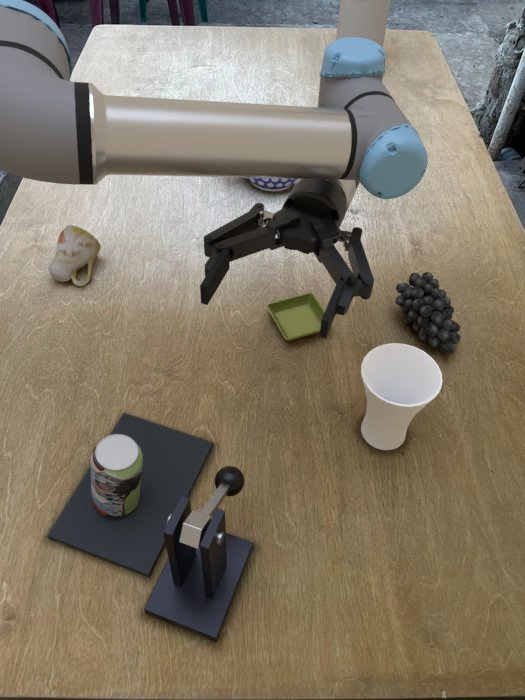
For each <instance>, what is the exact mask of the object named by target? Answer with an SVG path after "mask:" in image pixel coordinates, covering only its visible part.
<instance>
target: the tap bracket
mask: <svg viewBox="0 0 525 700" xmlns="http://www.w3.org/2000/svg"><path fill="white" fill-rule="evenodd" d="M191 511H192V505H191V498H190V497H188V498H187V497H185V496H182V495H181V497H180V499H179V501H178V503H177V505H176V507H175V509H174V511H173V513H171V514H170V515H169V517H168V520H167V525H166V527H165V529H164V531H163V535H164V539H165V548H166V554H167V560H166V561H165V563H164V566H163V568H162V571H161V572H160V574H159V576H158V578H157V581H156V583H155V585H154V587H153V589H152V592H151V593H150V595H149V598H148V599H147V602H146V604H145V606H144V608H143V612H144V613H145V615H147V616H150V617H153V618H155V619H157V620H159V621H162V622H165V623H168V624H170V625H172V626H175V627H177V628H179V629H182V630H185V631H187V632H190V633H193V634H195V635H197V636H200V637H202V638H205V639H206V640H207V639H208V640H210V641H213V642H215V643H217V642H218V639H219V636H220V634H221V631H222V629H223V627H224V624H225V621H226V618H227V616H228V613H229V612H230V609H231V606H232V603H233V600H234V598H235V595H236V593H237V591H238V588H239V585H240V583H241V580H242V578H243V575H244V572H245V570H246V567H247V565H248V562H249V560H250V557H251V555H252V551H253V549H254V542H253V541H250V540H247V539H245V538H242V537H239V536H236V535H233V534H231V533H228V532H227V529H226V528H227V526H226V525H227V524H226V510H223V509H221V508H219V507H218V508H216V510H215V512H214V514H213V516H212V517H211V521H210V523H209V526H208V528H207V530H206V532H205V535H204V537H203V539H202V541H201V543H200V547H199V548H198V549H197V548H194V547H191V546H188V545H186V544H183V543H180V542H179V539H180V534H181V529H182V524H183V522H184V521H185V519H186V518H187V517H188V515H189V514H190V513H191Z"/></svg>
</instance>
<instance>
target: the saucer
mask: <svg viewBox="0 0 525 700" xmlns="http://www.w3.org/2000/svg"><path fill="white" fill-rule="evenodd" d="M265 307H266V309H267V310H268V312H269V314H270V316H271V317H272V319H273V320H274V323H275V324H276V326H277V328H278V330H279V331H280V333H281V334H282V336H283V338H284V339H285V341H288V342H290V341H294V340H297V339H300V338H304V337H308V336H312V335H315V334H320V328H321V321H322V318H323V315H324V313H325V309H324V308H323V306H322V304H321V302H320V301H319V300H318V298H317V296H316V295H315V294H314V293H313V292H310V291H309V292H305V293H302V294H298V295H294V296H291V297H287V298H282V299H280V300H276V301H272V302H268V303H266V304H265ZM334 326H335V324H334V322H332V325H331V327H330V329H333V327H334Z"/></svg>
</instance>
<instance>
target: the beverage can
mask: <svg viewBox="0 0 525 700" xmlns="http://www.w3.org/2000/svg"><path fill="white" fill-rule="evenodd" d="M142 462H143V455H142V451H141V449H140V447H139V446H138V445H137V443H136V442H135V441H134V440H133V439H132V438H130V437H128V436H126V435H122V434H113V435H110V434H108V435H107V436H105V437H103V438H102V439H101V440H100V441H99V442H98V443H97V444H96V445H95V446H94V448H93V449H92V451H91V454H90V466H91V496H92V503H93V506H94V508H95V509H96V510H97V511H98V512H99V513H100V514H102V515H104V516H107V517H111V518H117V517H122V516H125V515H127V514H129V513H130V512H132V511H133V510H134V509H135V507H136V506H137V504H138V502H139V497H140V485H141V474H142Z"/></svg>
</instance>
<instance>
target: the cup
mask: <svg viewBox="0 0 525 700" xmlns="http://www.w3.org/2000/svg"><path fill="white" fill-rule="evenodd" d="M360 375H361V379H362V383H363V387H364V392H365V397H366V409H365V414H364V417H363V420H362V421H361V425H360V432H361V436H362V437H363V439H364V441H365V442H366V443H367V444H368V445H369V446H372V447H373V448H375V449H378V450H381V451H392V450H396V449H398V448H399V447H401V446H402V445H403V444H404V442H405V440H406V436H407V433H408V429H409V426H410V424H411V422H412V421H413V419H414V417H415V416H416V415H417V414H418V413H419V412H420V411H421V410H423V409H424V408H425V407H426V406H427V405H428V404H429V403H431V402H432V401H433V400H435V398H437V396H438V395H439V393H440V392H441V390H442V386H443V373H442V371H441V368H440V366H439V365H438V363H437V362H436V360H434V359H433V357H432V356H431V355H429V354H428V353H427V352H426V351H424V350H422V349H420V348H419V347H417V346H414V345H410V344H406V343H399V342H398V343H397V342H391V343H384V344H380V345H378V346H376V347H374V348H372V349H371V350H370V351H368V352H367V353H366V355H364V357H363V360H362V362H361V364H360Z"/></svg>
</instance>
